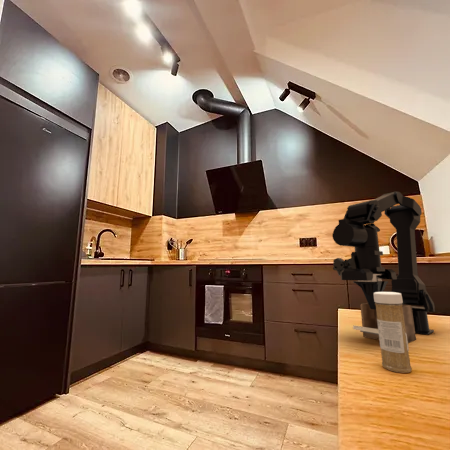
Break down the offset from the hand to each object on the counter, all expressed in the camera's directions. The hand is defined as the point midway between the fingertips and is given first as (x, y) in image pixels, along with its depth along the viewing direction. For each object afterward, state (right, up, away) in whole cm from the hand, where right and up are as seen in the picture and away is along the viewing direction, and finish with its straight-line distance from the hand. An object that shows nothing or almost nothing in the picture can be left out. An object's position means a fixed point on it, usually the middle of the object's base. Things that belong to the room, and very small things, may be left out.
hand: (373, 309), depth 63 cm
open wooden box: (+6, -9, +3) cm, 11 cm away
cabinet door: (+3, -7, +1) cm, 7 cm away
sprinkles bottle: (-7, -5, -18) cm, 20 cm away
